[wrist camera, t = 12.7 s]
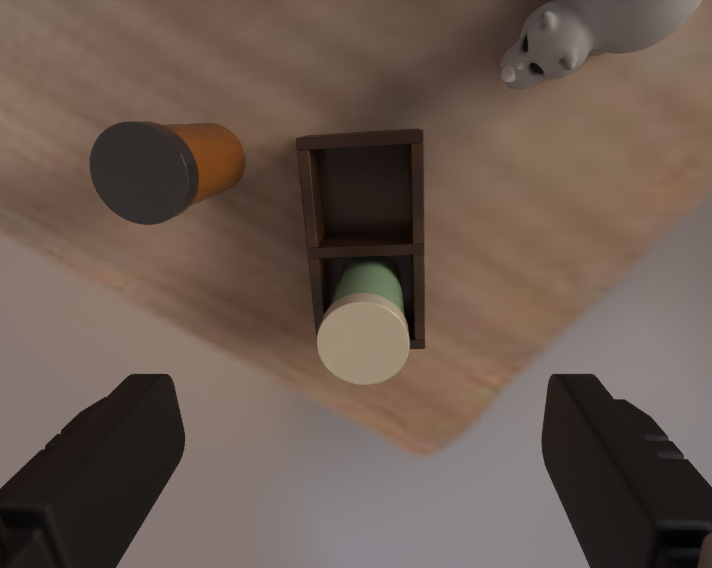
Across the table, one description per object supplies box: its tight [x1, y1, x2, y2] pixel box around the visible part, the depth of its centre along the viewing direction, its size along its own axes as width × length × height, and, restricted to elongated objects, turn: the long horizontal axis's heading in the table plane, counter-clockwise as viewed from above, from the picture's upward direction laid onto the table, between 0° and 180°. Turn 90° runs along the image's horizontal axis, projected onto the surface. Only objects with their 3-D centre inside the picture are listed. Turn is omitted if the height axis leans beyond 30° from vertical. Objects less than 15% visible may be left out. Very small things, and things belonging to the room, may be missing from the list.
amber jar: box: [90, 121, 245, 225], centre depth 30 cm, size 6×6×11 cm
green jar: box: [317, 256, 410, 385], centre depth 32 cm, size 6×6×11 cm
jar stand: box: [296, 129, 425, 349], centre depth 34 cm, size 16×8×5 cm, turn 4°
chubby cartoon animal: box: [499, 0, 702, 89], centre depth 26 cm, size 7×12×8 cm, turn 125°
